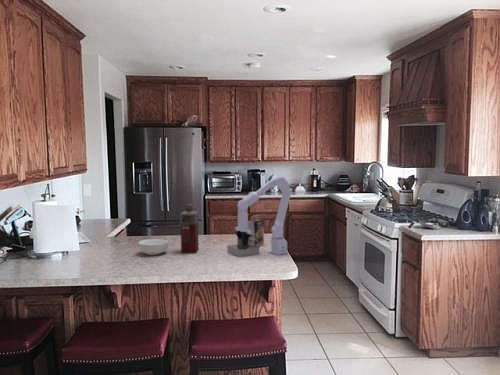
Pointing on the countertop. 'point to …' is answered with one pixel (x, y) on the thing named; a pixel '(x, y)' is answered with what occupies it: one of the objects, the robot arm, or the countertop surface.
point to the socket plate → (243, 250)
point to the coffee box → (256, 232)
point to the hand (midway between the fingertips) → (243, 244)
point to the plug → (240, 243)
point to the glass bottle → (189, 230)
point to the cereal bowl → (153, 246)
